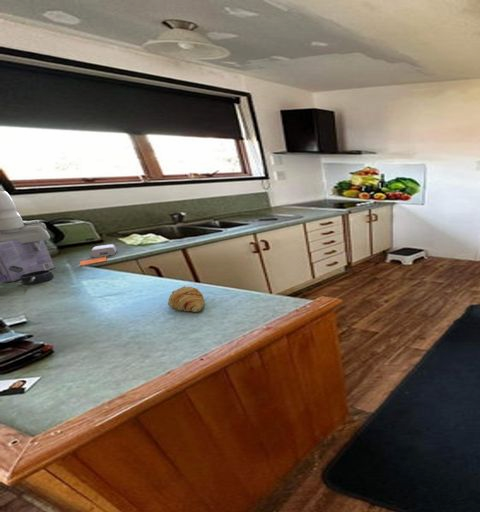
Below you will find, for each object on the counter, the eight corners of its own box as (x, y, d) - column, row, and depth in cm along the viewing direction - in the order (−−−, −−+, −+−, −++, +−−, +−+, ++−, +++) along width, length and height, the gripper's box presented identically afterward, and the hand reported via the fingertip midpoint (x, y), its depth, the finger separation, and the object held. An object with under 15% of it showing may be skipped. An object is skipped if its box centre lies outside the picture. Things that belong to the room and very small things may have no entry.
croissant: (211, 318, 96) (218, 296, 97) (179, 318, 88) (187, 294, 88) (185, 301, 107) (192, 282, 108) (155, 300, 99) (162, 279, 100)
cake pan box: (48, 267, 140) (34, 234, 134) (58, 267, 140) (44, 234, 134) (0, 282, 122) (-19, 245, 116) (12, 282, 122) (-6, 245, 116)
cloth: (79, 266, 141) (79, 265, 141) (81, 261, 148) (80, 261, 148) (106, 261, 147) (106, 260, 147) (106, 257, 154) (106, 256, 154)
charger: (117, 249, 170) (115, 254, 159) (96, 252, 164) (93, 258, 153) (114, 241, 168) (113, 246, 157) (93, 244, 163) (90, 250, 152)
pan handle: (29, 284, 114) (27, 281, 114) (32, 279, 119) (31, 276, 118) (33, 283, 115) (32, 280, 114) (36, 278, 120) (35, 276, 119)
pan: (21, 286, 117) (17, 279, 116) (25, 280, 124) (22, 273, 122) (52, 280, 123) (49, 273, 122) (55, 275, 129) (52, 268, 128)
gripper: (44, 219, 132) (56, 246, 137) (-27, 227, 119) (-11, 257, 123) (42, 221, 128) (55, 249, 132) (-32, 229, 114) (-15, 260, 119)
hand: (23, 253), depth 128 cm, fingers open, 8 cm apart
